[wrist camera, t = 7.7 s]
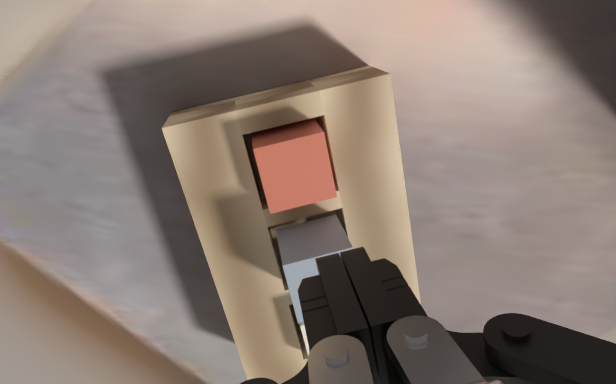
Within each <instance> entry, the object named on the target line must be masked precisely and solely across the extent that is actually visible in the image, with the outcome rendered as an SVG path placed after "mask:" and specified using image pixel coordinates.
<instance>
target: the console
mask: <svg viewBox="0 0 616 384" xmlns="http://www.w3.org/2000/svg"><path fill="white" fill-rule="evenodd" d="M310 118H314V119H315V121H316V122H317V123H318V124H319V126H320V127H321V128H322V130H323V131H324V134H325V139H326V144H327V149H328V154H329V159H330V164H331V169H332V174H333V179H334V184H335V189H336V194H337V197H335V198H332V199H328V200H324V201H320V202H316V203H312V204H308V205H304V206H300V207H296V208H292V209H288V210H284V211H281V212H277V213H273V214H270V211H269V208H268V204H267V200H266V196H265V193H264V189H263V185H262V181H261V178H260V174H259V170H258V166H257V163H256V159H255V155H254V151H253V146H252V139H251V133H252V132H256V131H261V130H265V129H269V128H273V127H277V126H281V125H285V124H289V123H294V122H298V121H302V120H306V119H310ZM162 131H163V134H164V137H165V140H166V143H167V146H168V148H169V151H170V154H171V157H172V160H173V163H174V166H175V169H176V172H177V175H178V178H179V180H180V183H181V186H182V189H183V192H184V195H185V198H186V201H187V204H188V207H189V210H190V213H191V215H192V218H193V221H194V224H195V227H196V230H197V233H198V236H199V239H200V242H201V245H202V247H203V250H204V253H205V256H206V259H207V262H208V265H209V268H210V271H211V274H212V277H213V279H214V282H215V285H216V288H217V291H218V294H219V297H220V300H221V303H222V306H223V309H224V312H225V314H226V317H227V320H228V323H229V326H230V329H231V332H232V335H233V338H234V341H235V344H236V346H237V349H238V352H239V355H240V358H241V361H242V364H243V367H244V370H245V373H246V376H247V379H248V380H250V379H253V378H268V379H271V380H274V381H275V382H277V383H279V382H283V381H287V380H289V379H291V378H292V377H294V376H295V375H296V374H298V373H299V372H300V371H301V370H302V369H303V367H304V366H305V365H306V363H307V361H308V354H307V350H306V346H305V342H304V339H303V335H302V331H301V327H300V323H298V321H297V318H296V314H295V310H294V306H293V303H292V299H291V295H290V292H289V288H288V284H287V280H286V277H285V273H284V269H283V265H282V260H281V255H280V250H279V245H278V240H277V235H276V230H278V229H282V228H285V227H289V226H293V225H297V224H301V223H305V222H309V221H313V220H316V219H320V218H324V217H328V216H332V215H337V217H338V219H339V221H340V223H341V225H342V227H343V229H344V231H345V233H346V235H347V237H348V239H349V241H350V243H351V245H352V246H353V249H355V248H359V247H364V248H365V250H366V252H367V254H368V256H369V258H370V260H371V261H375V260H379V259H383V258H385V259H387V260H389V261H390V262H392V263H394V264H395V265H397V267H398V268H399V270H400V272H401V273H402V275H403V278H405V280H406V281H407V283H408V286H410V288H411V290H412V291H413V293H414V295H415V296H416V298H417V300H418V301H419V303H420V304H421V302H420V295H419V287H418V280H417V272H416V265H415V257H414V250H413V242H412V235H411V227H410V219H409V212H408V204H407V197H406V189H405V182H404V174H403V167H402V159H401V152H400V144H399V137H398V129H397V122H396V114H395V107H394V99H393V92H392V84H391V76H390V73H387V72H384V71H382V70H379V69H377V68H374V67H371V66H365V67H361V68H356V69H352V70H348V71H344V72H340V73H335V74H331V75H327V76H323V77H319V78H314V79H310V80H306V81H302V82H297V83H293V84H289V85H285V86H281V87H276V88H272V89H268V90H264V91H260V92H255V93H251V94H247V95H243V96H238V97H234V98H230V99H226V100H222V101H217V102H213V103H209V104H205V105H201V106H196V107H192V108H188V109H184V110H179V111H175V112H171V114H170V116H169V117H168V119H167V121H166V122H165V124H164V125H163V127H162Z"/></svg>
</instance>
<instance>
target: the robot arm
mask: <svg viewBox="0 0 616 384" xmlns="http://www.w3.org/2000/svg"><path fill="white" fill-rule="evenodd" d="M315 260H316V265H317V269H318V273H319V275H316V276H312V277H308V278H304V279H302V281H301V283H300V286H299V288H298V295H299V300H300V305H301V310H302V315H303V320H304V325H305V330H306V335H307V340H308V345H309V355H308V361H307V363H306V365H305V366H304V367H303V369H302V370H301V371H300V372H299V373H298V374H296V375H295V376H294V377H292V378H291V379H289V380H287V381H285V382H284V383H282V384H616V344H615V343H612V342H609V341H605V340H602V339H599V338H596V337H593V336H590V335H587V334H584V333H581V332H577V331H574V330H571V329H568V328H565V327H562V326H559V325H555V324H552V323H549V322H546V321H543V320H540V319H537V318H534V317H530V316H527V315H523V314H516V313H508V314H501V315H498V316H495V317H493V318H491V319H490V320H489V321H488V322H487V323H486V324H485V326H484V330H483V333H458V332H452V331H448V330H446V329H445V328H444V327H443V326H442V325H441V324H440V323H439V322H438V321H436V320H435V319H433V318H430V317H428V316H427V314H426V313H425V311H424V309H423V308H422V306H421V304H420V303H419V301H418V300H417V298H416V296H415V295H414V293H413V291H412V290H411V288H410V286H408V283H407V281H406V280H405V278H403V275H402V273H401V272H400V270H399V268H398V267H397V265H395V264H394V263H392V262H390V261H389V260H387V259H385V258H383V259H379V260H375V261H371V260H370V258H369V256H368V254H367V252H366V250H365V248H364V247H359V248H355V249H351V250H347V251H343V252H340V255H339V253H335V254H331V255H327V256H323V257H319V258H315ZM240 384H278V383H277V382H275V381H274V380H271V379H268V378H253V379H250V380H247V381H244V382H242V383H240Z"/></svg>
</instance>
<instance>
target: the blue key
mask: <svg viewBox="0 0 616 384" xmlns="http://www.w3.org/2000/svg"><path fill="white" fill-rule="evenodd" d="M276 235H277V240H278V245H279V250H280V255H281V260H282V265H283V269H284V273H285V277H286V280H287V284H288V288H289V292H290V295H291V299H292V303H293V306H294V310H295V314H296V318H297V321H298V323H301V322H304V320H303V315H302V310H301V305H300V300H299V295H298V288H299V286H300V283H301V281H302V279H304V278H308V277H312V276H316V275H319V273H318V269H317V265H316V260H315V258H319V257H323V256H327V255H331V254H335V253H339V255H340V252H343V251H347V250H351V249H353V246H352V245H351V243H350V241H349V239H348V237H347V235H346V233H345V231H344V229H343V227H342V225H341V223H340V221H339V219H338V217H337V215H332V216H328V217H324V218H320V219H316V220H313V221H309V222H305V223H301V224H297V225H293V226H289V227H285V228H282V229H278V230H276Z"/></svg>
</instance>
